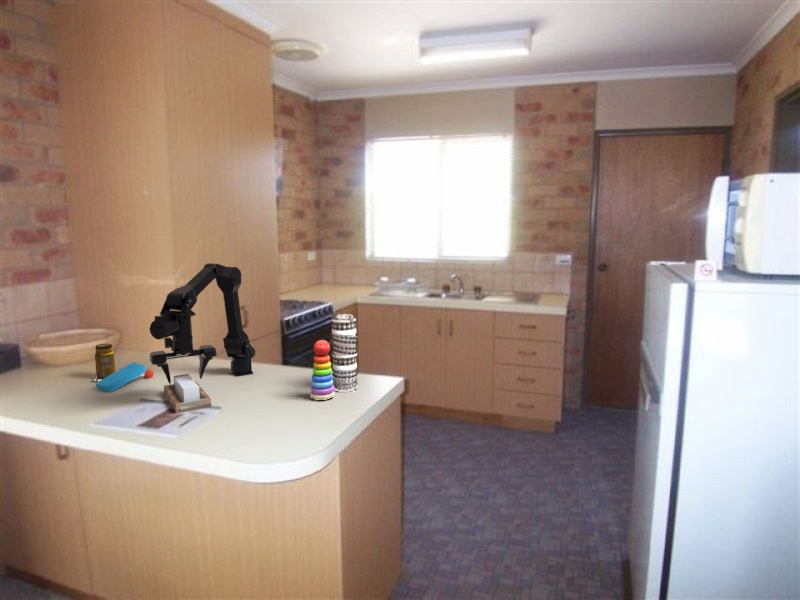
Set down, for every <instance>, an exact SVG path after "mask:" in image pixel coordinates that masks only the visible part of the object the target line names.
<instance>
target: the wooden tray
mask: <svg viewBox="0 0 800 600" xmlns="http://www.w3.org/2000/svg"><path fill="white" fill-rule="evenodd" d="M194 381H195V383H196V384H197V385H198V386H199V393H200V400H194V401H189V402H182V401H181V399H180V398H179V397H178V395H177V394H176V392H175V390H174V383H171V384H166V385H163V394H164V396H166V398H167V400H168V402H169V404H170V405H171V407H172V406H173V407H172V408H173V409H174V412H175V413H176V414H178V413H185V411H186V412H191V411H197V410H200V409H207V408H211V407H212V398H211V397H210V395H208V394H207V393H206V391H205V390H204V389H203V388H202V386H201V385H200V384H199V383H198V382H197V380H194Z"/></svg>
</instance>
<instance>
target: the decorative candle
mask: <svg viewBox="0 0 800 600" xmlns="http://www.w3.org/2000/svg"><path fill="white" fill-rule="evenodd" d="M331 321H332V325H331V326H332V329H331V331H330V332H329V334H330V336H329V338H330V340H331V342H330V345H331V346H330V350H332V351H331V357H332V360H333V361H332V368H331V369H332V372H331V374H332V376H333V377H332V380H333V386H334V388H335V389H337V390H352V389H354V388H356V387H358V385H359V382H358V380H359V377H358V374H359V373H358V372H357V371H358V370H359V368H358V365H357V363H358V362H357V355H358V353H359V351H358V350H357V349H358V348H359V347H358V346H357V345H356V344H358V343H359V340H357V339H359V336H358V335H356V334H357V328H356V326H357V325H356V321H357V318H355V317H354V316H353V314H350V313H340V314H339V313H338V314H336V315H334V317H333V318H332V319H331Z"/></svg>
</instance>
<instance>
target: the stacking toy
mask: <svg viewBox="0 0 800 600" xmlns="http://www.w3.org/2000/svg"><path fill="white" fill-rule="evenodd" d="M330 345H331V344H330V343H329V342H328V341H327V340H325V339H321V340H318V341H316V342H315V343H314V345H313V352H314V353H315V354H316V355H314V357H313V361H314V363H313V369H312V375H311V379H312V380H311V382H310V384H311V386H310V392H309V397H310V398H311V399H312V398H313V399H317V400H325V399H330V398H332V397H333V398H334V397H335V396H336V392H335V391H334V386H333V380H332V378H333V376H332V373H333V372H332V369H333V368H332V367H331V366H332V362H331V361H330V360H331V356H330V355H329V353H330V350H331V346H330ZM333 398H332V399H333ZM313 399H312V400H313ZM317 400H316V401H317ZM330 400H331V399H330Z"/></svg>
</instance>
